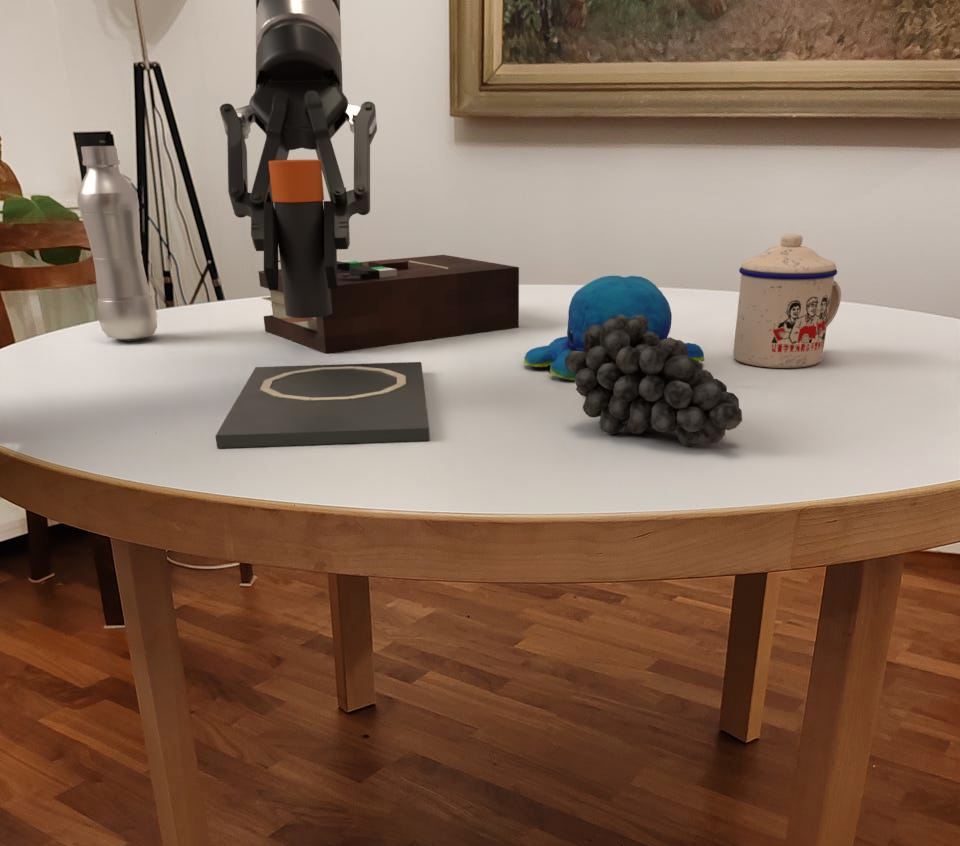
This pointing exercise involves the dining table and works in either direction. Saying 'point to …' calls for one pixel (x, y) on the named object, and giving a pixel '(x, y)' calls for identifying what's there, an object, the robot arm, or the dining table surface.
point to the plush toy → (598, 307)
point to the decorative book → (403, 303)
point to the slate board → (328, 406)
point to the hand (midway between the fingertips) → (301, 278)
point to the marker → (301, 236)
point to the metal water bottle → (115, 246)
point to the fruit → (649, 384)
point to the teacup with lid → (785, 306)
